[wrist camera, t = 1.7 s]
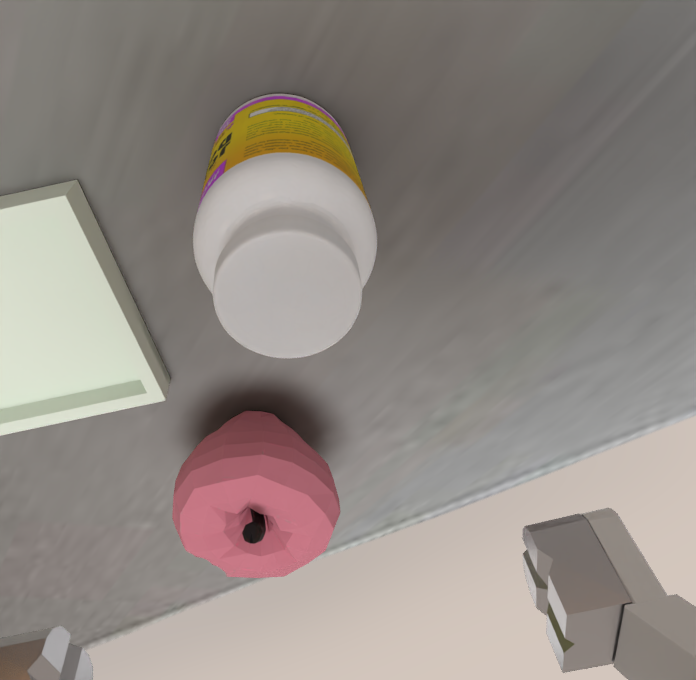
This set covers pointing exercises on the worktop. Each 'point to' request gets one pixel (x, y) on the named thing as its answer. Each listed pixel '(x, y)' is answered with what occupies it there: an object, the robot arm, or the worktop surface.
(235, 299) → the supplement bottle
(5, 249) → the tray
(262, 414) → the apple
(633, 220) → the worktop surface
